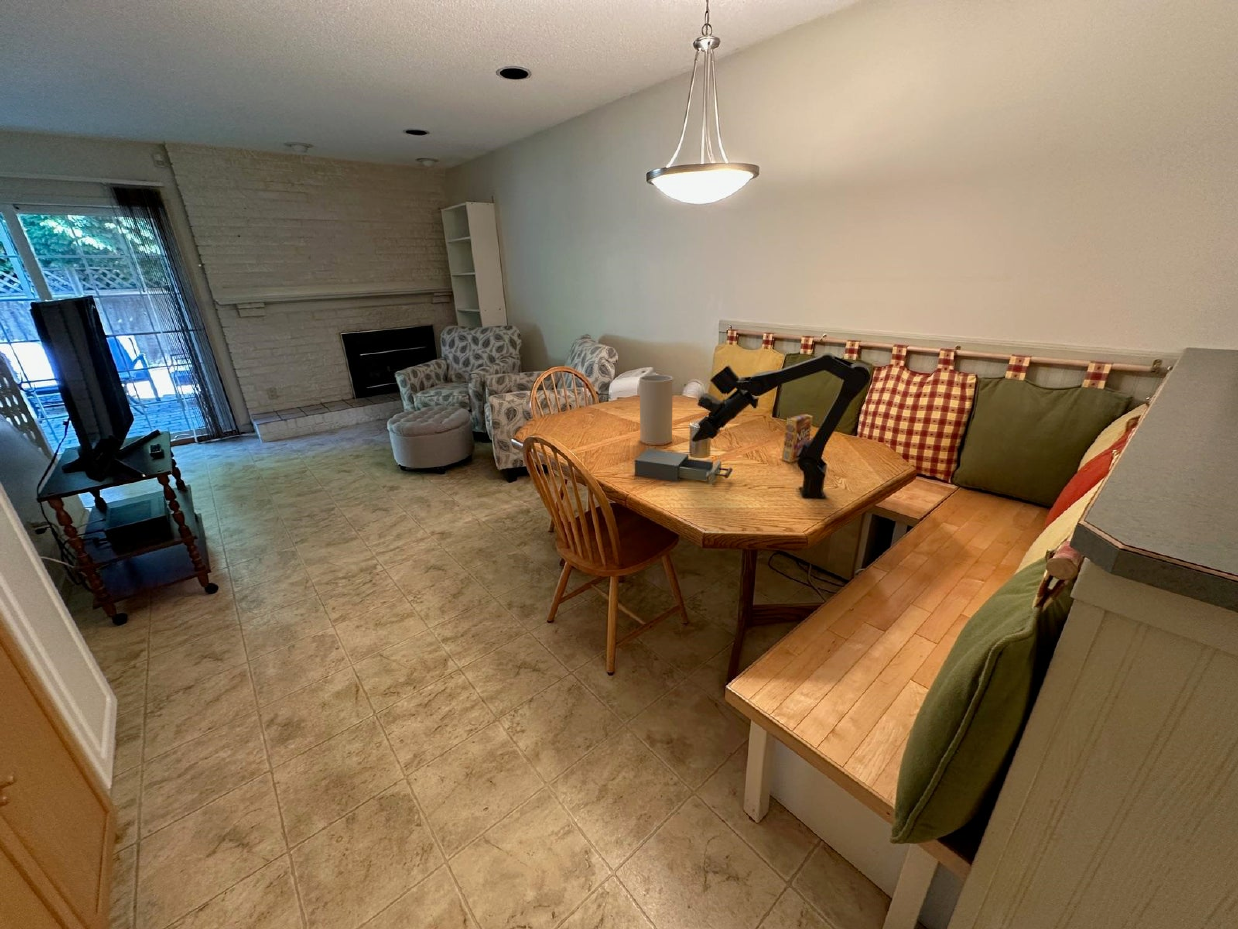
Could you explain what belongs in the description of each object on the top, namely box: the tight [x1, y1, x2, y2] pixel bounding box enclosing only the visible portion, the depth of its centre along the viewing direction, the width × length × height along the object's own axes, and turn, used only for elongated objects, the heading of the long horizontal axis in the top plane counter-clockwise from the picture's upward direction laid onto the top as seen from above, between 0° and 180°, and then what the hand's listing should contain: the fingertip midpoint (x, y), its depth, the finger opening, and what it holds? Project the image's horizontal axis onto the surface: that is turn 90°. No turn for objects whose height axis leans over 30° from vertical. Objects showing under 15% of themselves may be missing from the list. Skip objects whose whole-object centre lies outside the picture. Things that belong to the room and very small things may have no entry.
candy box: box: [781, 413, 814, 464], centre depth 164 cm, size 9×4×15 cm, turn 123°
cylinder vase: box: [639, 374, 674, 446], centre depth 185 cm, size 12×12×25 cm
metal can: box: [688, 420, 712, 459], centre depth 149 cm, size 7×7×10 cm
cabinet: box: [634, 448, 690, 483], centre depth 158 cm, size 15×12×6 cm
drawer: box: [678, 457, 733, 485], centre depth 152 cm, size 18×10×4 cm, turn 65°
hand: (696, 437), depth 149 cm, fingers closed on metal can, 6 cm apart
